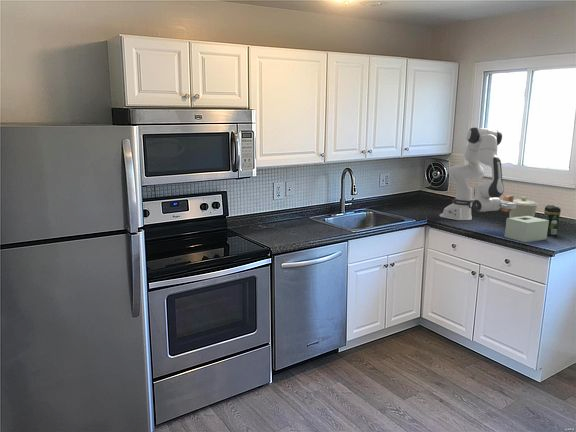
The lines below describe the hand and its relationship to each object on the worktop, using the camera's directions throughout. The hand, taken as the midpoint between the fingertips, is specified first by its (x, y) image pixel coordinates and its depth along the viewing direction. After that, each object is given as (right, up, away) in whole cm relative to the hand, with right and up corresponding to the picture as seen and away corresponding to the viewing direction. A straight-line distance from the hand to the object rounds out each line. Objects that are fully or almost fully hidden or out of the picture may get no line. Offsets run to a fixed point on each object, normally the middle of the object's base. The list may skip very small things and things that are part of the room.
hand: (508, 202), depth 303 cm
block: (-1, -5, +1) cm, 6 cm away
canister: (+14, -16, +14) cm, 26 cm away
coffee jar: (+23, -21, -5) cm, 32 cm away
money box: (+1, -23, -18) cm, 29 cm away
